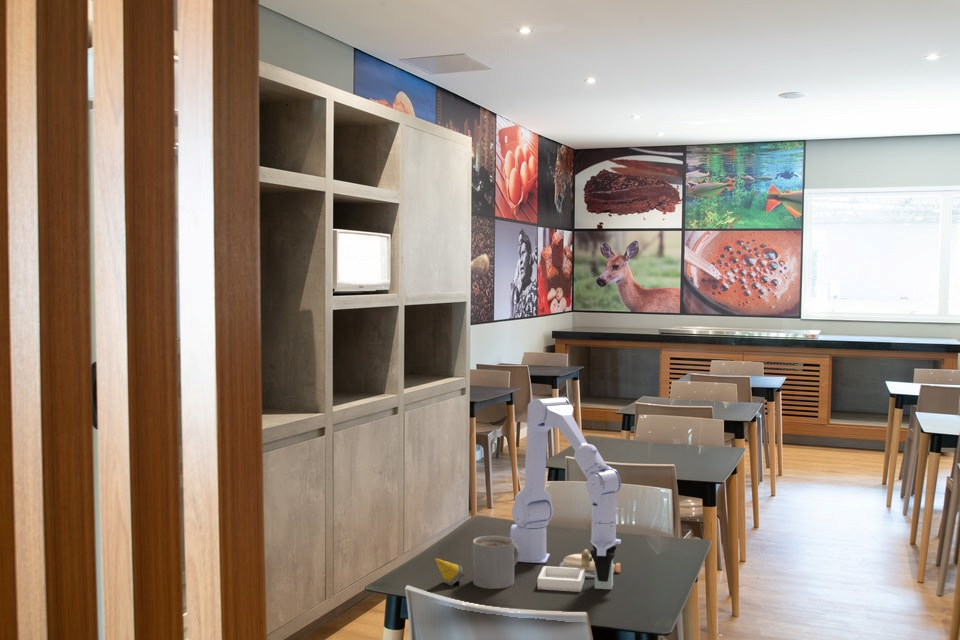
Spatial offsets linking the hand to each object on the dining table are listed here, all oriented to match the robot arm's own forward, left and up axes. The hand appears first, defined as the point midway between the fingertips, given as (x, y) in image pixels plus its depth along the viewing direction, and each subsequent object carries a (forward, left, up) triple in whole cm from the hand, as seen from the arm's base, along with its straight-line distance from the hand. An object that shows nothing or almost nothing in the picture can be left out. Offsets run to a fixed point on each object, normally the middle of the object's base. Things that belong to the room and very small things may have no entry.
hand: (603, 578), depth 207 cm
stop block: (0, 0, -2) cm, 2 cm away
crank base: (-5, +13, -2) cm, 14 cm away
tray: (-10, 0, -2) cm, 10 cm away
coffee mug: (-25, -1, -2) cm, 25 cm away
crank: (-5, +12, -1) cm, 13 cm away
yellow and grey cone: (-36, -6, -2) cm, 37 cm away
